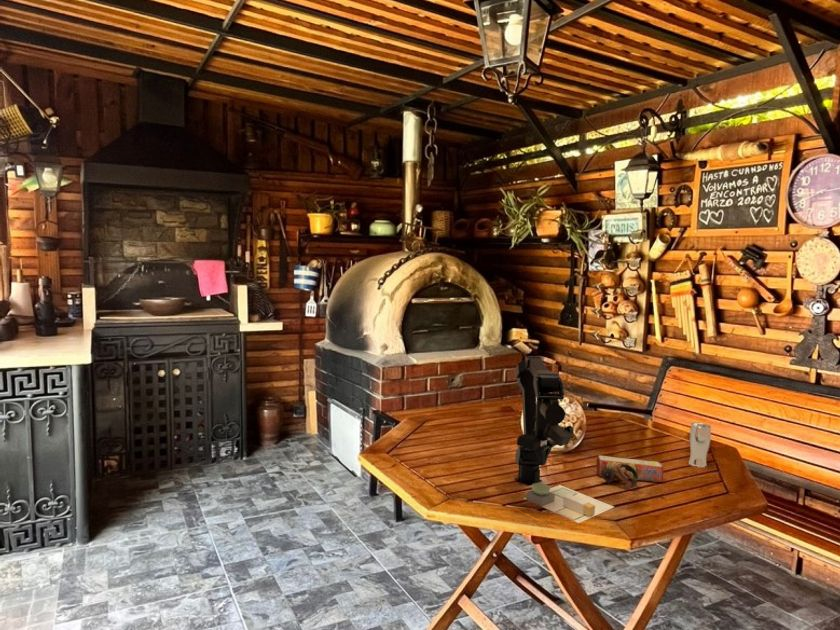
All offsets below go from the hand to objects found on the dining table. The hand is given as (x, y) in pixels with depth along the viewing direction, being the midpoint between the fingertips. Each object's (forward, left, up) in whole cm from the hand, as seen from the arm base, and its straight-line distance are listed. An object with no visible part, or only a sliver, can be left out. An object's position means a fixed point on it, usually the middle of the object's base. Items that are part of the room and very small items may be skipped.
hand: (542, 465), depth 176 cm
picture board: (+6, +6, -12) cm, 15 cm away
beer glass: (+13, +75, -12) cm, 77 cm away
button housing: (0, 0, -12) cm, 12 cm away
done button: (0, 0, -11) cm, 11 cm away
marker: (+11, +4, -11) cm, 16 cm away
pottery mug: (+6, +32, -12) cm, 35 cm away
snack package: (+5, +42, -12) cm, 44 cm away
